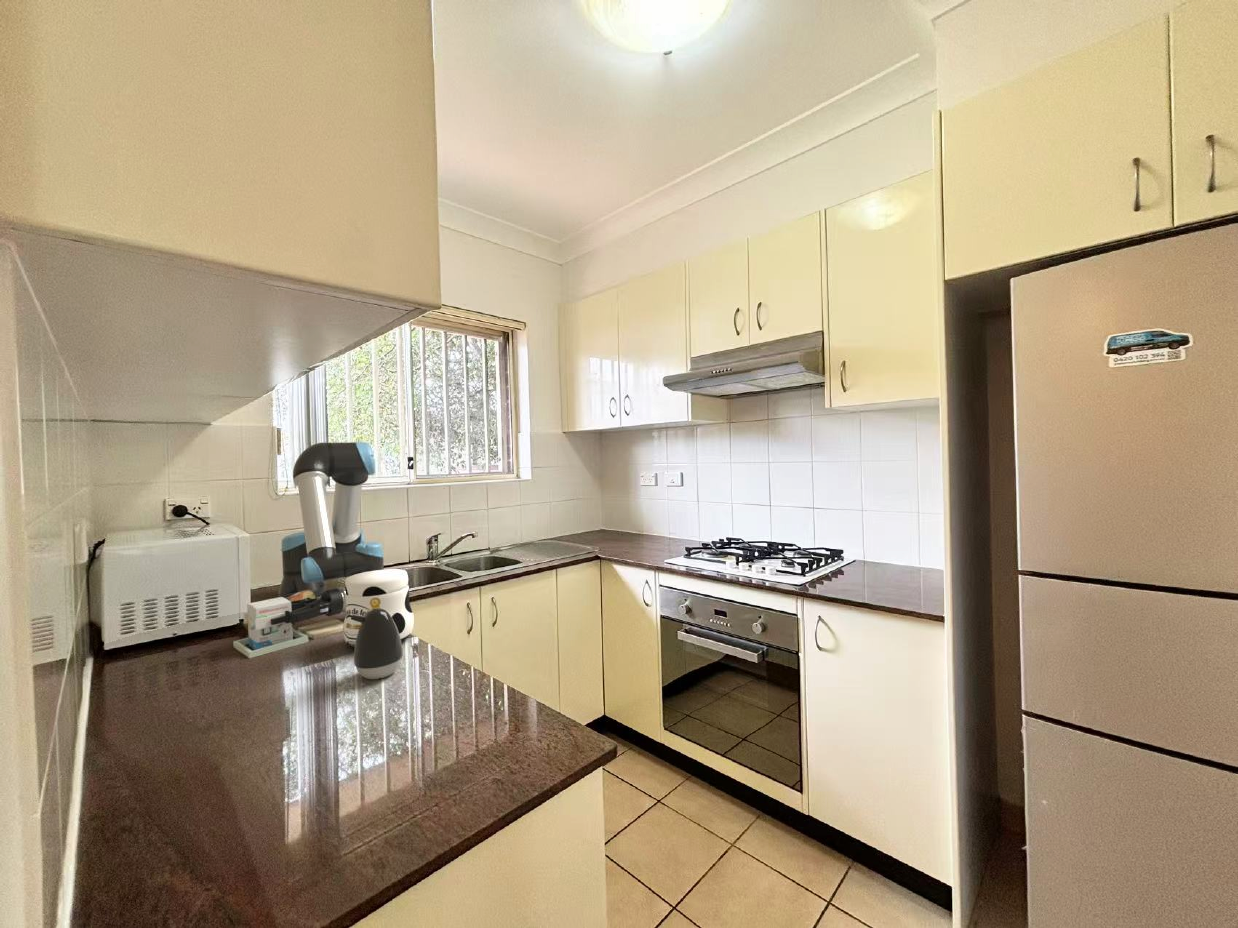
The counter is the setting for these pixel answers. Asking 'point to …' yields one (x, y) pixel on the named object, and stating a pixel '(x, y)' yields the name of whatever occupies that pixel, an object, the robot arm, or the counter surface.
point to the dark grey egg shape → (377, 645)
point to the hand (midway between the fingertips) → (249, 621)
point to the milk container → (378, 600)
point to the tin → (302, 596)
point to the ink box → (271, 633)
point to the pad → (322, 628)
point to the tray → (250, 654)
